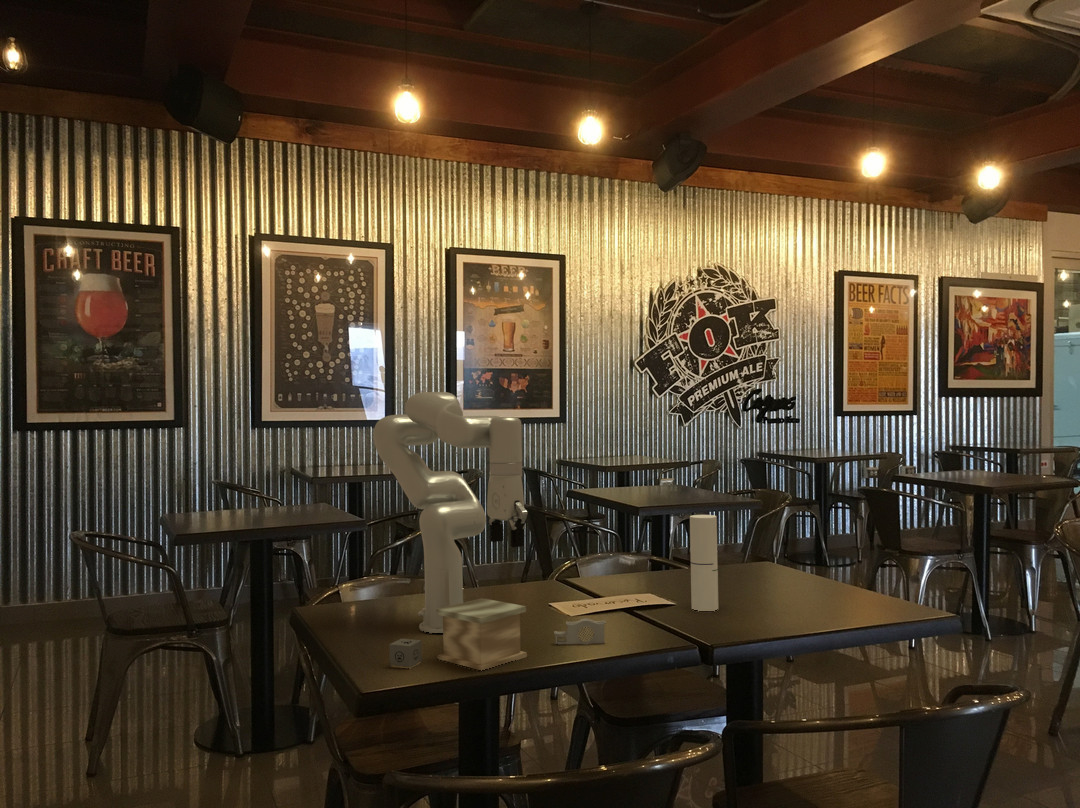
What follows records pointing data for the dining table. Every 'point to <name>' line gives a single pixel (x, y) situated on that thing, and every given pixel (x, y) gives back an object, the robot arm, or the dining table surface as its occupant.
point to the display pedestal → (481, 633)
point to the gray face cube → (405, 652)
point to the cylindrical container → (704, 562)
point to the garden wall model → (575, 628)
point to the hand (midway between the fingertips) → (506, 544)
